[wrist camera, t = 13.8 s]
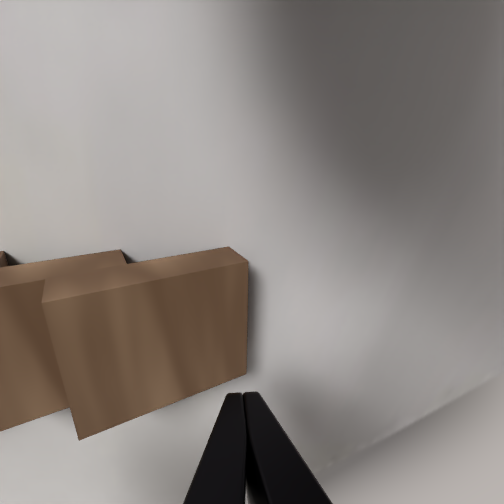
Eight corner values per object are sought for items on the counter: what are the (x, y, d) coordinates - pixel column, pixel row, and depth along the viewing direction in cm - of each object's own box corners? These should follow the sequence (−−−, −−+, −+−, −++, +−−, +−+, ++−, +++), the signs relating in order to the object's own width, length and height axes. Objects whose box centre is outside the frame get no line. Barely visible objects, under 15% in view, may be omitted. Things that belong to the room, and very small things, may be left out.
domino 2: (248, 261, 10) (41, 303, 8) (246, 373, 12) (79, 440, 9) (228, 246, 12) (45, 277, 9) (229, 350, 14) (77, 403, 11)
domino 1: (127, 264, 10) (-139, 311, 7) (144, 381, 12) (-63, 453, 9) (120, 249, 11) (-108, 283, 8) (136, 356, 13) (-46, 412, 10)
